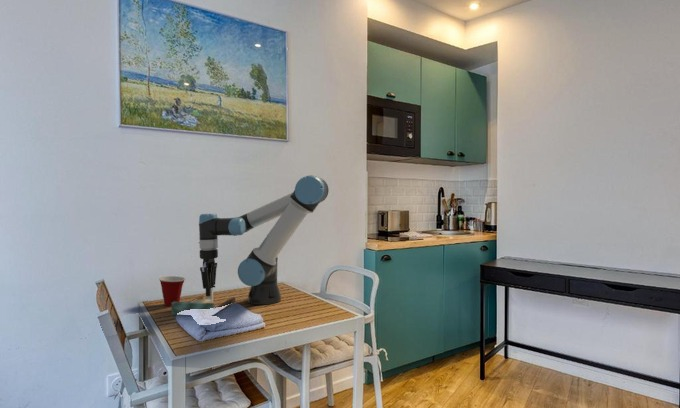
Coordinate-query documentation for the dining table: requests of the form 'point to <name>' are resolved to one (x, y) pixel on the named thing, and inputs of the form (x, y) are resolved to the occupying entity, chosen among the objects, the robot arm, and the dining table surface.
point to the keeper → (202, 301)
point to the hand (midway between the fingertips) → (209, 303)
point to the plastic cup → (171, 289)
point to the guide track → (196, 305)
